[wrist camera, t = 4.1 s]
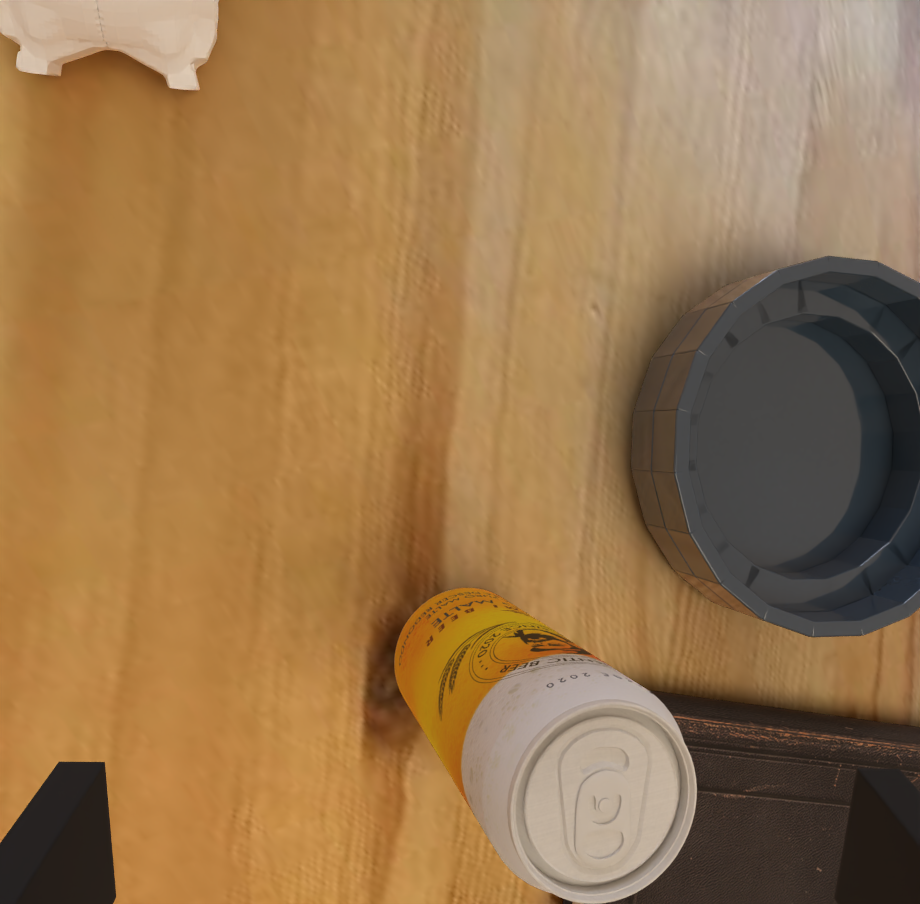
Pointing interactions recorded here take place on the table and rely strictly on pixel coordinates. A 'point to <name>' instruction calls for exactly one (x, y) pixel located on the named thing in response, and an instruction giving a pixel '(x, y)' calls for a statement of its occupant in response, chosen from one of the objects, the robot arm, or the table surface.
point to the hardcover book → (770, 800)
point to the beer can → (548, 747)
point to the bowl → (790, 447)
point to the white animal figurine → (113, 33)
